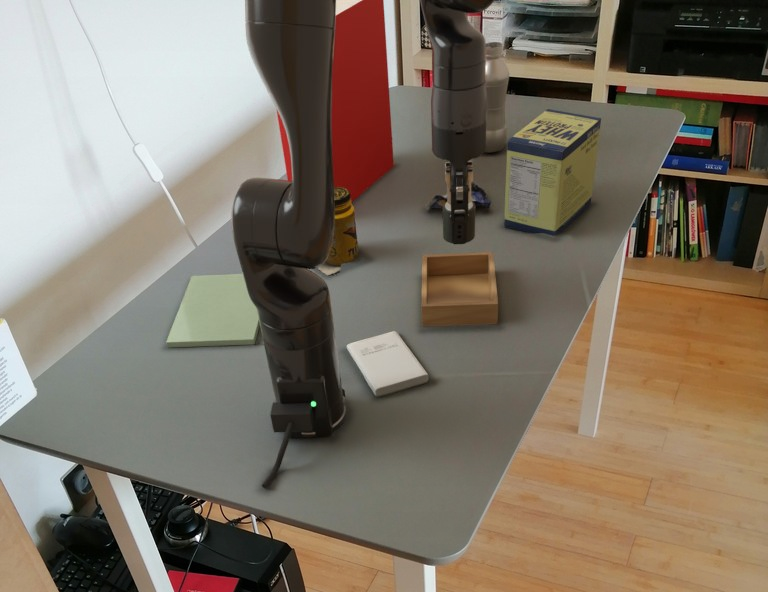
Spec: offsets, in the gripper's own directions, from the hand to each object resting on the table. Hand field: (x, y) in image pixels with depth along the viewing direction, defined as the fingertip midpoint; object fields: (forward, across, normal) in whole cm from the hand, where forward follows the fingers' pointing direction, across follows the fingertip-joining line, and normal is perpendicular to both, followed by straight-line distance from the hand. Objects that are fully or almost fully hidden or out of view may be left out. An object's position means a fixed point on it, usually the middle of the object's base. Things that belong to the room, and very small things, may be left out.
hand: (458, 234), depth 123 cm
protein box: (+12, -28, +17) cm, 35 cm away
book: (+12, -42, -22) cm, 49 cm away
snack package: (+12, -33, +1) cm, 35 cm away
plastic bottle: (+11, -58, +8) cm, 60 cm away
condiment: (+12, -15, -21) cm, 29 cm away
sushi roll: (0, 0, 0) cm, 0 cm away
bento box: (+12, 0, 0) cm, 12 cm away
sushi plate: (+12, 0, -39) cm, 41 cm away
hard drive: (+12, +17, -11) cm, 23 cm away
